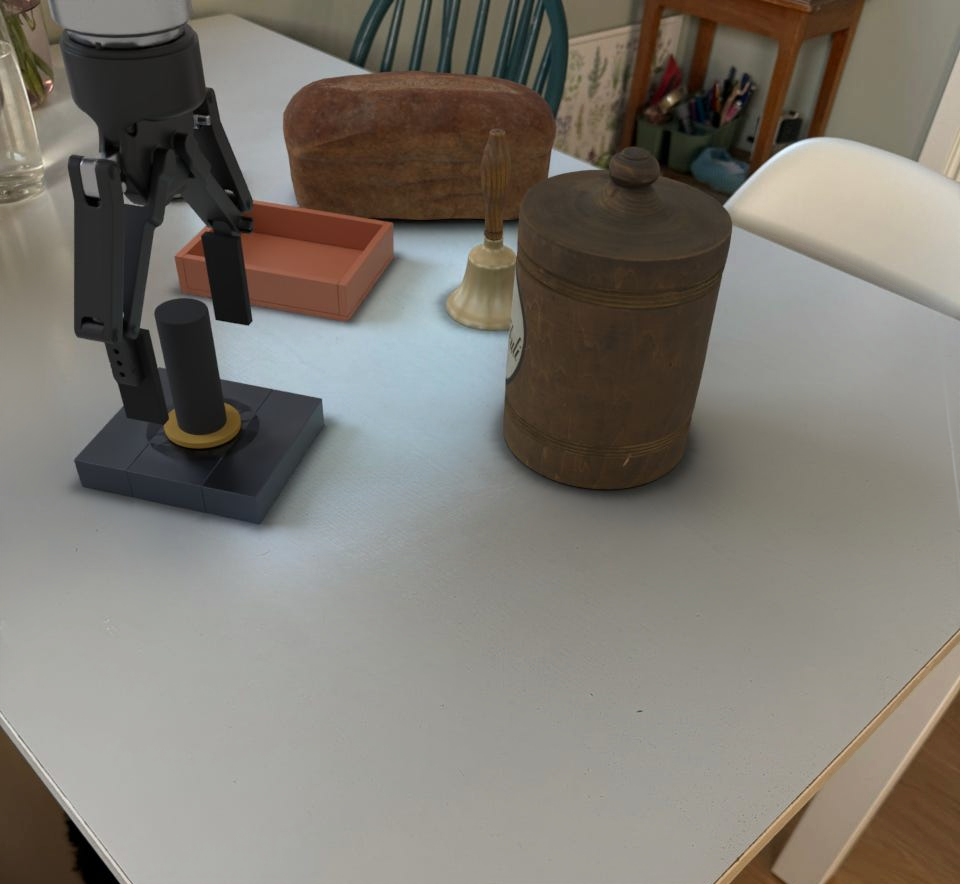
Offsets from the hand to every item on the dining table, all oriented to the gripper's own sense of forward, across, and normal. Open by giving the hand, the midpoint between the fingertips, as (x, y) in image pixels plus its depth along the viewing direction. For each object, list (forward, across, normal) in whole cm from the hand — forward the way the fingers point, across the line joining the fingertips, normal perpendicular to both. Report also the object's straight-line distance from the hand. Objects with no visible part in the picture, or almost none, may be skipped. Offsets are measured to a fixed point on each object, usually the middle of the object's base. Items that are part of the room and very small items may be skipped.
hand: (194, 367), depth 70 cm
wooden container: (+8, +12, -28) cm, 31 cm away
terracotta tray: (+8, +29, +5) cm, 31 cm away
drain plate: (+8, 0, 0) cm, 8 cm away
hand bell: (+8, +29, -15) cm, 34 cm away
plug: (+8, 0, 0) cm, 8 cm away
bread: (+8, +49, -2) cm, 50 cm away
